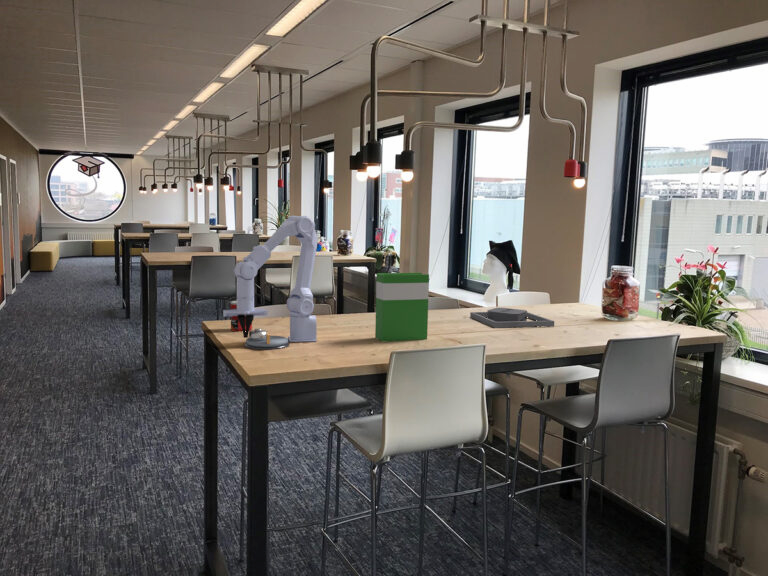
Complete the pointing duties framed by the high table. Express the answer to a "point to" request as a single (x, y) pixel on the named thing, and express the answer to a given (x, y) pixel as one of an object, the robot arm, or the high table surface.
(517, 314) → the streaming box
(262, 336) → the cover
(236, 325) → the canned food
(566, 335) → the high table surface
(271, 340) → the turntable
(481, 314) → the black tray rim
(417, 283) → the green cereal box
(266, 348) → the turntable base
